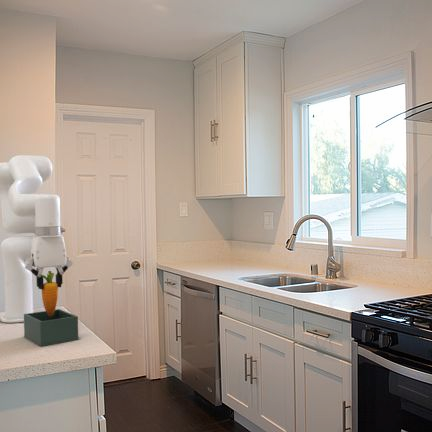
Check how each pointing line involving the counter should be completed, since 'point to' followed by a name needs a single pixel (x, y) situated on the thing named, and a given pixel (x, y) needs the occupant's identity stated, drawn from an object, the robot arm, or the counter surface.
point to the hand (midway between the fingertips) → (49, 287)
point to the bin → (50, 327)
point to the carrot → (50, 294)
